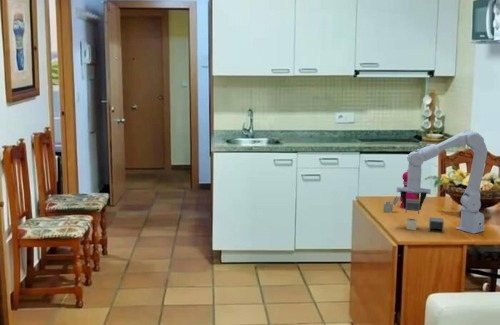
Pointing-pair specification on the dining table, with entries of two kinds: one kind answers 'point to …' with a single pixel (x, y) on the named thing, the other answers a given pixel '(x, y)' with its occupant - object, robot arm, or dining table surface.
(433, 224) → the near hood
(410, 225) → the cube
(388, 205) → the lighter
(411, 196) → the pepper mill
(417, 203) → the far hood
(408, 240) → the dining table surface
